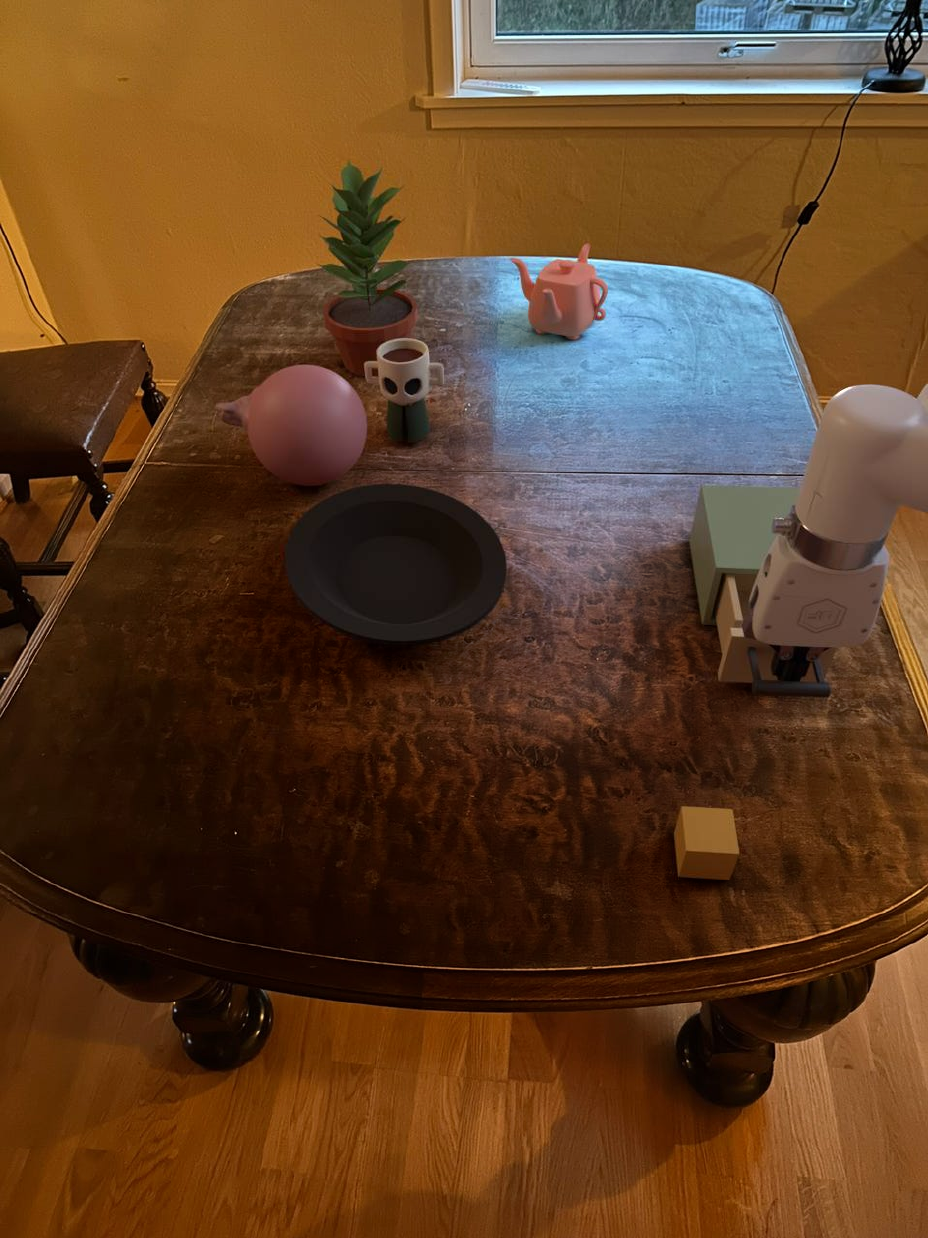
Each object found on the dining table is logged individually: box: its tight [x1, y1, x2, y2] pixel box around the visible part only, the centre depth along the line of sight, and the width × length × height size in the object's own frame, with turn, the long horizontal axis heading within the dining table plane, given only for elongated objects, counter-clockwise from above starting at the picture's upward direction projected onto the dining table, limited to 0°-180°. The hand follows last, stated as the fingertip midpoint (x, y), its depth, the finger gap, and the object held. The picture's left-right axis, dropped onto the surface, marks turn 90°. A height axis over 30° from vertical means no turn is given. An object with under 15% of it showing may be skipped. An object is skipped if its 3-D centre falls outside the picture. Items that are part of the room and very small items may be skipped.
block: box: [673, 805, 740, 881], centre depth 77 cm, size 4×4×4 cm
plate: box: [284, 483, 508, 647], centre depth 102 cm, size 28×24×6 cm
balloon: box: [214, 364, 368, 487], centre depth 115 cm, size 15×20×15 cm
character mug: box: [364, 338, 445, 443], centre depth 122 cm, size 11×7×13 cm, turn 85°
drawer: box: [714, 573, 838, 698], centre depth 92 cm, size 19×10×7 cm, turn 175°
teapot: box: [509, 242, 609, 340], centre depth 145 cm, size 14×14×11 cm
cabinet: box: [689, 484, 800, 626], centre depth 100 cm, size 15×12×9 cm
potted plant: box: [316, 158, 419, 377], centre depth 131 cm, size 15×15×30 cm
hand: (785, 677), depth 86 cm, fingers closed
